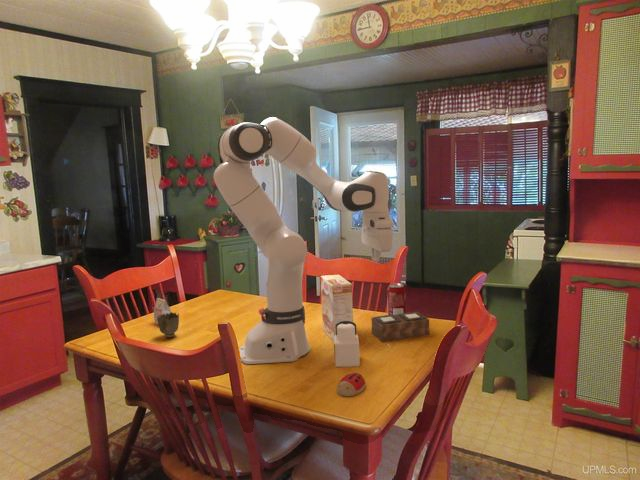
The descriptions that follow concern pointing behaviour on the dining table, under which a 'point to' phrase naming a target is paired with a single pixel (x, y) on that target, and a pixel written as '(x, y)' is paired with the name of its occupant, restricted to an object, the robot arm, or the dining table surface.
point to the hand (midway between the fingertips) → (375, 260)
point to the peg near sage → (387, 319)
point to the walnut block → (400, 327)
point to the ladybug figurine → (351, 385)
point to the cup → (168, 324)
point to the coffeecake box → (335, 302)
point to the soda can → (396, 299)
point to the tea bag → (160, 308)
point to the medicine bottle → (346, 345)
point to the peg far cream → (412, 315)
